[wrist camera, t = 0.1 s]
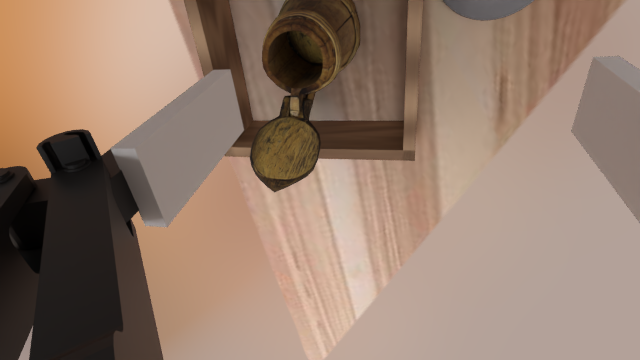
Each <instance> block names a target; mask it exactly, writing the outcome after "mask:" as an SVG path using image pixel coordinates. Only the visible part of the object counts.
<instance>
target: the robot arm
mask: <svg viewBox="0 0 640 360" xmlns="http://www.w3.org/2000/svg"><path fill="white" fill-rule="evenodd" d="M243 131H244V128H243V123H242V119H241V114H240V110H239V105H238V101H237V97H236V92H235V88H234V83H233V79H232V74H231V70H230V69H226V70H212V71H211V72H210V73H209V74H207V75H206V76H205V77H203V78H202V79H201V80H199V81H198V82H197V83H195V84H194V85H193V86H191V87H190V88H189V89H188V90H186V91H185V92H184V93H182V94H181V95H180V96H178V97H177V98H176V99H175V100H173V101H172V102H171V103H169V104H168V105H167V106H165V107H164V108H163V109H161V110H160V111H159V112H157V113H156V114H155V115H154V116H152V117H151V118H150V119H148V120H147V121H146V122H144V123H143V124H142V125H141V126H139V127H138V128H137V129H135V130H134V131H132V132H131V133H130V134H129V135H127V136H126V137H125V138H123V139H122V140H121V141H119V142H118V143H117V144H115V145H114V146H113V147H111V149H110V150H109V151H107V152H106V153H104V154H103V155H102V156H101V155H100V153H99V150H98V148H97V146H96V144H95V142H94V140H93V138H92V136H91V133H90V132H89V131H88V130H83V129H82V130H71V131H66V132H63V133H59V134H56V135H54V136H51V137H49V138H47V139H45V140H44V141H42V142H41V143H39V145H38V146H37V150H38V151H39V153H40V155H41V157H42V159H43V160H44V161H45V164H46V165H47V167H48V169H49V171H50V172H51V178H46V179H39V180H34V179H33V178H32V176H31V174H30V173H29V171H28V170H27V168H26V167H22V166H15V167H8V168H0V360H18V359H19V356H20V354H21V351H22V349H23V347H24V345H25V342H26V340H27V338H28V336H29V333H30V331H31V328H32V326H33V332H32V340H31V349H30V357H29V360H163V355H162V351H161V346H160V341H159V337H158V332H157V327H156V323H155V318H154V314H153V309H152V304H151V299H150V295H149V290H148V285H147V281H146V276H145V271H144V267H143V262H142V258H141V253H140V248H139V243H138V238H137V234H136V229H135V227H134V224H133V222H132V220H131V218H132V217H133V216H134V215H135V214H136V213H137V212H138V211H139V213H140V215H141V217H142V220H143V221H144V224H145V226H157V227H168V226H169V224H170V223H171V222H172V221H173V219H174V218H175V217H176V215H177V214H178V213H179V212H180V210H181V209H182V208H183V207H184V205H185V204H186V203H187V202H188V200H189V199H190V198H191V197H192V195H193V194H194V192H195V191H196V190H197V189H198V188H199V186H200V185H201V184H202V183H203V181H204V180H205V179H206V177H207V176H208V175H209V174H210V173H211V171H212V170H213V169H214V168H215V166H216V165H217V164H218V162H219V161H220V160H221V159H222V157H223V156H224V155H225V154H226V152H227V151H228V150H229V149H230V147H231V146H232V145H233V144H234V142H235V141H236V140H237V139H238V137H239V136H240V135H241V133H242V132H243ZM571 131H572V133H573V134H574V136H575V137H576V138H577V140H578V141H579V142H580V144H581V145H582V146H583V148H584V149H585V150H586V152H587V153H588V154H589V156H590V157H591V158H592V160H593V161H594V162H595V164H596V165H597V166H598V168H599V169H600V170H601V172H602V173H603V174H604V176H605V177H606V178H607V180H608V181H609V182H610V184H611V185H612V186H613V188H614V189H615V190H616V192H617V193H618V194H619V196H620V197H621V198H622V200H623V201H624V202H625V204H626V205H627V207H628V208H629V209H630V210H631V212H632V213H633V214H634V216H635V217H636V219H637V220H638V221H639V223H640V70H639V69H638V68H637V67H635V66H633V65H632V64H630V63H629V62H628V61H626V60H624V59H623V58H621V57H620V56H611V57H610V56H608V57H593V60H592V63H591V66H590V69H589V73H588V76H587V80H586V83H585V86H584V90H583V93H582V96H581V100H580V103H579V107H578V110H577V114H576V117H575V120H574V123H573V127H572V130H571Z"/></svg>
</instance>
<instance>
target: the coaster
mask: <svg viewBox="0 0 640 360" xmlns="http://www.w3.org/2000/svg"><path fill="white" fill-rule="evenodd" d="M443 1H444V2H445V3H446V5H448V6H449V7H450V8H451V9H452V10H453V11H455V12H456V13H458V14H460V15H462V16H464V17H467V18H470V19H476V20H493V19H499V18H503V17H506V16H509V15H511V14H513V13H515V12H517V11H519V10H521V9H523V8H524V7H526V6H527V5H529V4H530V3H531V2H532V1H534V0H443Z"/></svg>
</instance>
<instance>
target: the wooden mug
mask: <svg viewBox="0 0 640 360" xmlns="http://www.w3.org/2000/svg"><path fill="white" fill-rule="evenodd" d="M359 45H360V24H359V20H358V15H357V12H356V8H355V5H354V3H353V2H352V0H285V2H284V4H283V6H282V9H281V11H280V13H279V16H278V17H277V18H276V19H275V20H274V22H273V23H272V24H271V26H270V27H269V29H268V31H267V34H266V36H265V38H264V43H263V51H262V62H263V68H264V70H265V72H266V74H267V76H268V77H269V78H270V79H271V80H272V81H273V82H274V83H275V84H276V85H277V86H279V87H280V88H282V89H283V90H285V91H287V92H289V93H291V96H285V97H284V99H283V103H282V107H281V111H280V115H279V116H278V117H277V118H275V119H273V120H271V121H269V122H268V123H266V124H265V125H264V126H263V127H261V128H260V129H259V131H258V132H257V134H256V136H255V138H254V141H253V143H252V147H251V152H250V161H251V166H252V168H253V170H254V172H255V174H256V175H257V177H258V178H259V179H260V180H261V181H262V182H263V183H264V184H265V185H266V186H267V187H268V188H270V189H271V190H272V191H274V192H276V191H279V190H281V189H284V188H286V187H288V186H290V185H292V184H294V183H296V182H298V181H300V180H302V179H303V178H305V177H307V176H308V175H309V174H310V173H311V172H312V171H313V169H314V167H315V165H316V163H317V160H318V156H319V152H320V146H321V140H320V135H319V133H318V131H317V130H316V128H315V127H314V126H313V124H312V123H311V122H310V121H309V115H310V111H311V107H312V104H313V100H314V96H315V92H316V91H318V90H320V89H322V88H324V87H325V86H327V85H328V84H329V83H331V82H332V81H333V80H334V79H335V77H336V75H337V73H338V72H339V71H341V70H342V69H343V68H345V67H346V66H347V65H348V64H349V63H350V61H351V60H352V59H353V57H354V55H355V53H356V51H357V49H358V47H359Z"/></svg>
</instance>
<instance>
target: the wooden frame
mask: <svg viewBox="0 0 640 360" xmlns="http://www.w3.org/2000/svg"><path fill="white" fill-rule="evenodd" d="M184 3H185V7H186V10H187V14H188V18H189V22H190V25H191V29H192V33H193V37H194V41H195V44H196V48H197V52H198V56H199V60H200V63H201V67H202V71H203V75H204V77H205V76H206V75H207V74H209V73H210V72H211V71H212V70H226V69H230V70H231V74H232V79H233V83H234V88H235V92H236V97H237V101H238V105H239V110H240V114H241V119H242V123H243V128H244V131H243V132H242V133H241V135H240V136H239V137H238V139H237V140H236V141H235V142H234V144H233V145H232V146H231V147H230V149H229V150H228V151H227V152H226V154H225V156H233V157H250V152H251V147H252V143H253V141H254V138H255V136H256V134H257V132H258V131H259V129H260V128H261V127H263V126H264V125H265V124H266V123H268V122H269V121H253V118H252V113H251V108H250V104H249V99H248V94H247V89H246V84H245V79H244V74H243V69H242V64H241V60H240V55H239V50H238V45H237V40H236V35H235V30H234V25H233V20H232V16H231V11H230V6H229V1H228V0H184ZM422 11H423V0H408V19H407V49H406V79H405V109H404V121H310V122H311V123H312V124H313V126H314V127H315V128H316V130H317V131H318V133H319V135H320V140H321V146H320V152H319V156H318V158H322V159H366V160H410V161H415V143H416V124H417V105H418V86H419V68H420V49H421V30H422Z"/></svg>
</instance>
